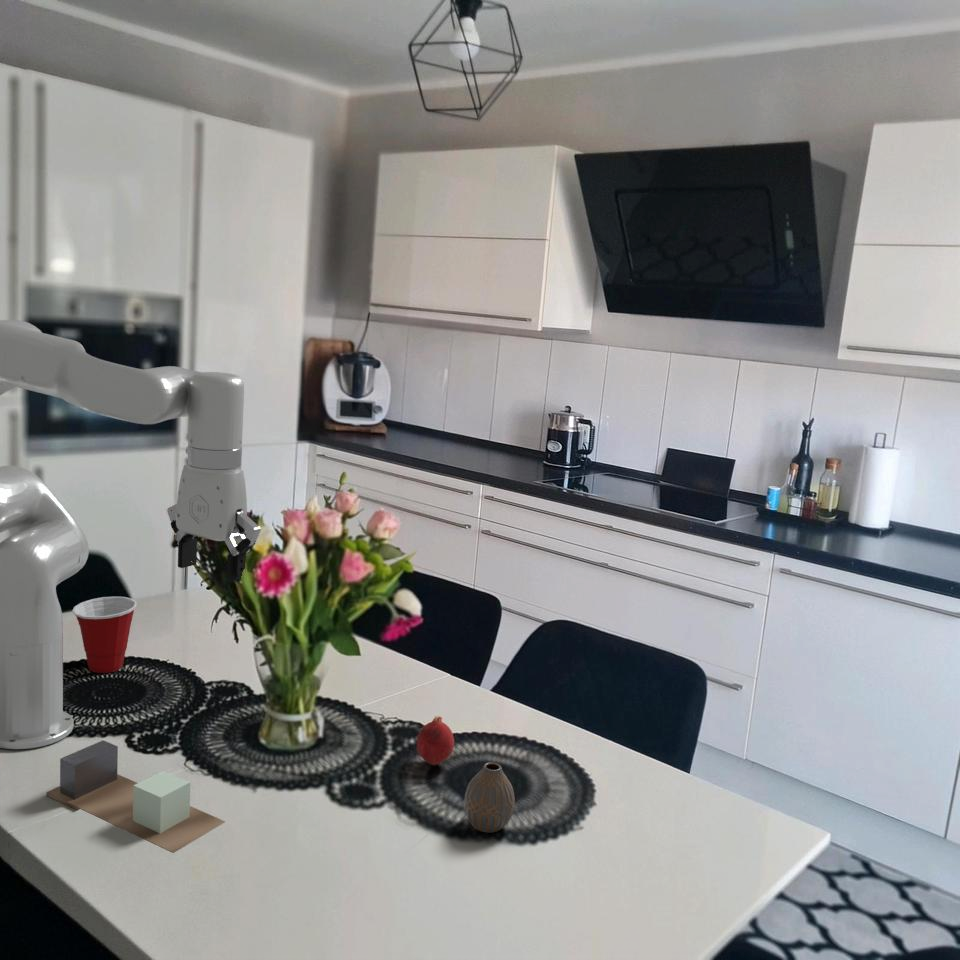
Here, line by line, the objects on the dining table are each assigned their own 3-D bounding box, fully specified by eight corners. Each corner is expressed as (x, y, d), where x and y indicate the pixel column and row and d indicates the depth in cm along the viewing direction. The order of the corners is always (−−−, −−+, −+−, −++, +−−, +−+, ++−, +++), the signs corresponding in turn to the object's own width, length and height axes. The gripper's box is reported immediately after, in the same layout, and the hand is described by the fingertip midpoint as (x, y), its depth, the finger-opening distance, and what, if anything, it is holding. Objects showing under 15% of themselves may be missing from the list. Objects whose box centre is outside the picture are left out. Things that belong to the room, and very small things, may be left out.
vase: (518, 819, 134) (524, 761, 133) (503, 843, 128) (509, 783, 126) (472, 807, 136) (477, 750, 135) (455, 830, 130) (460, 771, 128)
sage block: (132, 820, 125) (133, 785, 124) (162, 804, 129) (163, 770, 128) (160, 833, 123) (160, 797, 122) (189, 816, 127) (190, 782, 126)
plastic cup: (70, 658, 176) (71, 596, 174) (132, 654, 181) (133, 593, 179) (73, 681, 167) (73, 616, 165) (138, 676, 171) (139, 612, 169)
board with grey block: (46, 795, 130) (46, 758, 129) (101, 770, 138) (101, 734, 137) (173, 856, 119) (174, 815, 118) (225, 824, 127) (226, 786, 126)
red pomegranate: (447, 776, 145) (451, 727, 143) (410, 770, 146) (414, 721, 144) (455, 759, 150) (459, 712, 149) (420, 753, 151) (424, 706, 150)
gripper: (151, 452, 139) (149, 566, 142) (241, 470, 131) (237, 591, 134) (190, 447, 145) (187, 556, 148) (278, 465, 137) (273, 579, 140)
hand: (211, 572), depth 141 cm, fingers open, 9 cm apart
